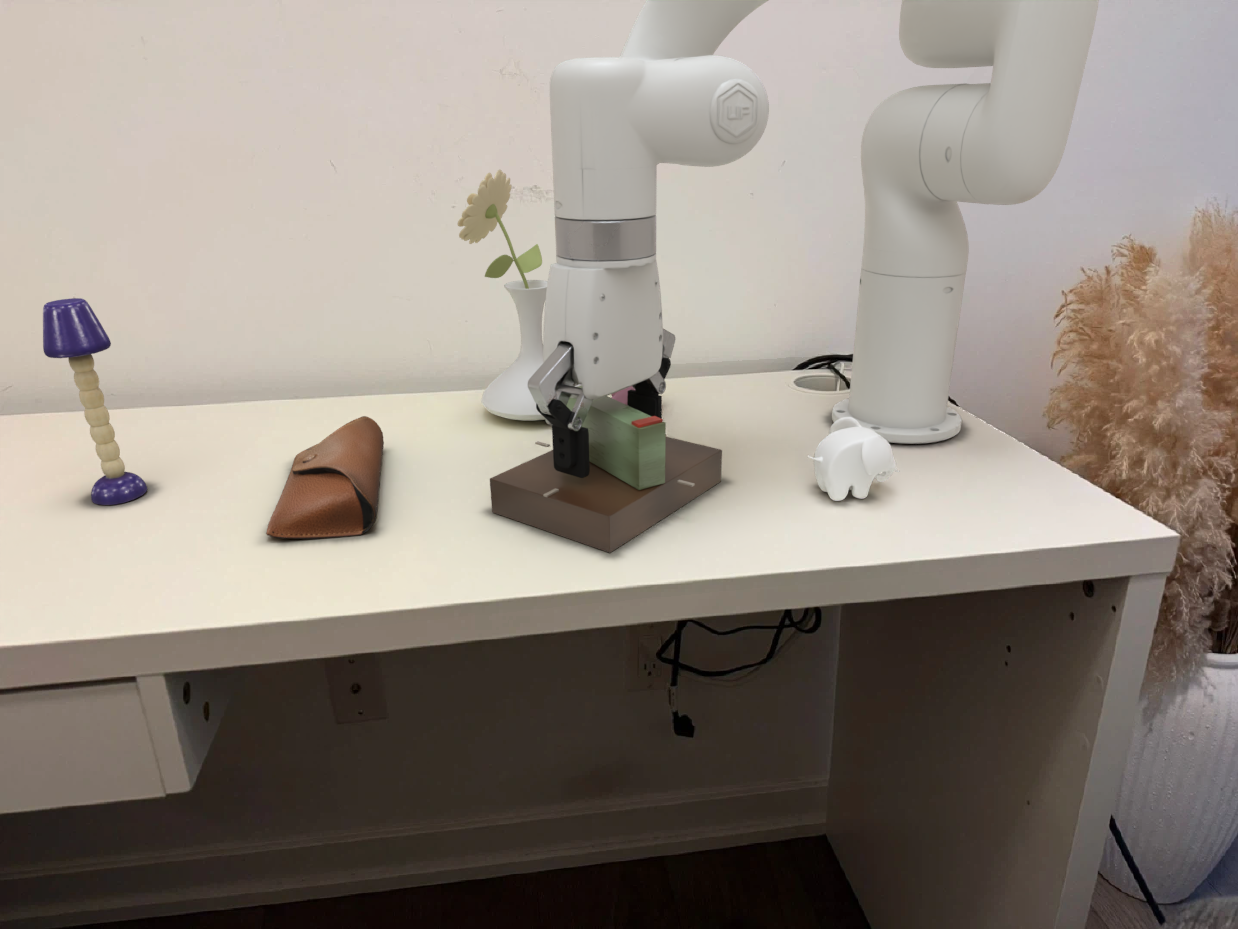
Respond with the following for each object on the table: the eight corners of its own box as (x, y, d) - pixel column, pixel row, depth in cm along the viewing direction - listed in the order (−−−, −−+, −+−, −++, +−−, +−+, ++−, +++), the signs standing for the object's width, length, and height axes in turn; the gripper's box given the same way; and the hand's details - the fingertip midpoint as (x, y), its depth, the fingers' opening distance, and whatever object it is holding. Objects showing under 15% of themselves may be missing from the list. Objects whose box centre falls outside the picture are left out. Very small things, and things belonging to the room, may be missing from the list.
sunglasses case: (290, 453, 80) (320, 392, 78) (362, 482, 82) (392, 423, 81) (262, 539, 64) (298, 464, 62) (352, 572, 66) (389, 500, 65)
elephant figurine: (913, 505, 69) (922, 436, 67) (821, 515, 67) (827, 444, 65) (873, 473, 75) (881, 409, 73) (788, 482, 74) (793, 416, 71)
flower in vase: (540, 390, 99) (529, 163, 90) (610, 411, 92) (605, 166, 82) (448, 417, 91) (424, 169, 81) (516, 443, 83) (499, 173, 74)
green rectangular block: (560, 444, 74) (558, 387, 72) (585, 439, 75) (583, 382, 73) (639, 490, 65) (638, 425, 63) (665, 483, 66) (666, 419, 64)
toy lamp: (76, 508, 70) (19, 308, 64) (96, 486, 75) (45, 296, 68) (139, 502, 71) (89, 304, 65) (155, 481, 76) (110, 293, 69)
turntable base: (594, 447, 82) (593, 416, 81) (743, 486, 73) (744, 452, 72) (472, 506, 70) (469, 471, 69) (632, 561, 61) (632, 522, 60)
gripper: (634, 226, 72) (635, 417, 78) (486, 251, 59) (502, 478, 66) (710, 231, 68) (704, 433, 74) (569, 261, 55) (577, 501, 61)
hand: (609, 454), depth 70 cm, fingers open, 9 cm apart
